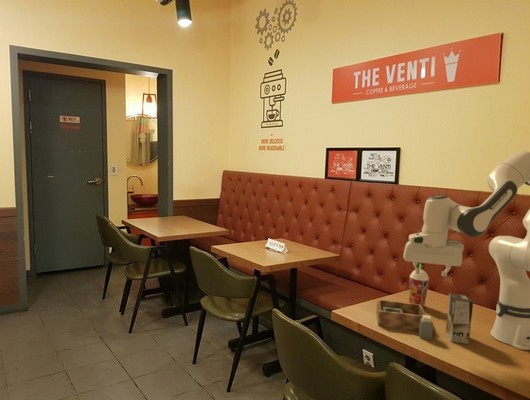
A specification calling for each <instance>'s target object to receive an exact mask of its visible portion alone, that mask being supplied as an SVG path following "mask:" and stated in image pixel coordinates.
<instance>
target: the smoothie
mask: <svg viewBox="0 0 530 400" xmlns="http://www.w3.org/2000/svg"><path fill="white" fill-rule="evenodd" d="M418 266H419V267H418V269H420V274H415V269H414V270H413V271H412V272H411V273H410V274H409V296H408V298H409V299H408V301H409V302H408V303H413V304H421V306H422V308H424V306H425V305H426V298H427V294H428V286H429V283H430V282H429V280H430V277H429V275H428V274H427V272H426V271H425V270H423V269H422V263H419V265H418Z"/></svg>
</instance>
